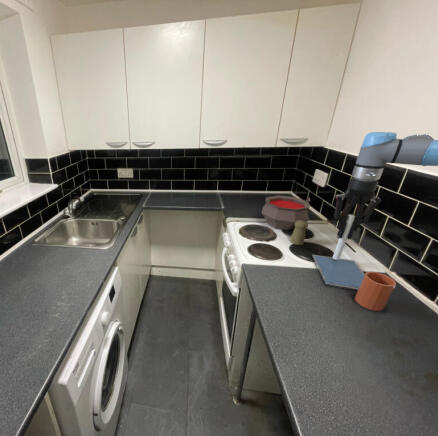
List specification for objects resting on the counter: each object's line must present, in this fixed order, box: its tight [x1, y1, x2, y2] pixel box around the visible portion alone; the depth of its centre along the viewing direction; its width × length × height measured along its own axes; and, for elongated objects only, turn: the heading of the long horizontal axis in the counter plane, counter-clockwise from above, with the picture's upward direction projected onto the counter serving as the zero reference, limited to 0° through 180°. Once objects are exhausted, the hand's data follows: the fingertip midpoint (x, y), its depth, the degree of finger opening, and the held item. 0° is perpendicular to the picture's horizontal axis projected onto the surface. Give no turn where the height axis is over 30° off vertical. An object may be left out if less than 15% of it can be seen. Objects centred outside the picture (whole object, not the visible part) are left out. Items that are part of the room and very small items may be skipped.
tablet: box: [311, 254, 365, 292], centre depth 89 cm, size 15×20×1 cm
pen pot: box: [354, 271, 397, 312], centre depth 73 cm, size 7×7×10 cm
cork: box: [289, 220, 309, 246], centre depth 110 cm, size 6×6×11 cm
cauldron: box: [261, 194, 311, 231], centre depth 126 cm, size 24×24×16 cm
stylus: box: [332, 213, 355, 260], centre depth 91 cm, size 2×2×20 cm
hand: (343, 237), depth 91 cm, fingers closed on stylus, 2 cm apart
